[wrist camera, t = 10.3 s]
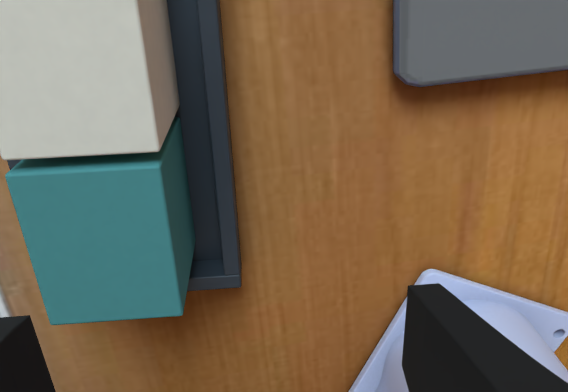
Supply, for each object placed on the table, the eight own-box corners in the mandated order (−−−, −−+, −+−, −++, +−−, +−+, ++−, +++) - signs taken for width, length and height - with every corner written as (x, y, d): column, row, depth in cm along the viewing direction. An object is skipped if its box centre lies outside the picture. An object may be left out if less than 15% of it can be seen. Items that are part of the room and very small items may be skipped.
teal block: (196, 240, 19) (183, 317, 15) (91, 247, 19) (49, 326, 15) (180, 115, 17) (160, 165, 13) (61, 122, 17) (3, 174, 13)
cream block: (180, 105, 17) (160, 153, 13) (60, 112, 17) (1, 161, 12) (159, -60, 15) (127, -66, 11) (21, -55, 14) (-67, -60, 10)
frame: (241, 264, 20) (241, 288, 19) (62, 276, 20) (48, 301, 18) (210, -113, 14) (206, -121, 13) (-44, -106, 14) (-76, -113, 13)
